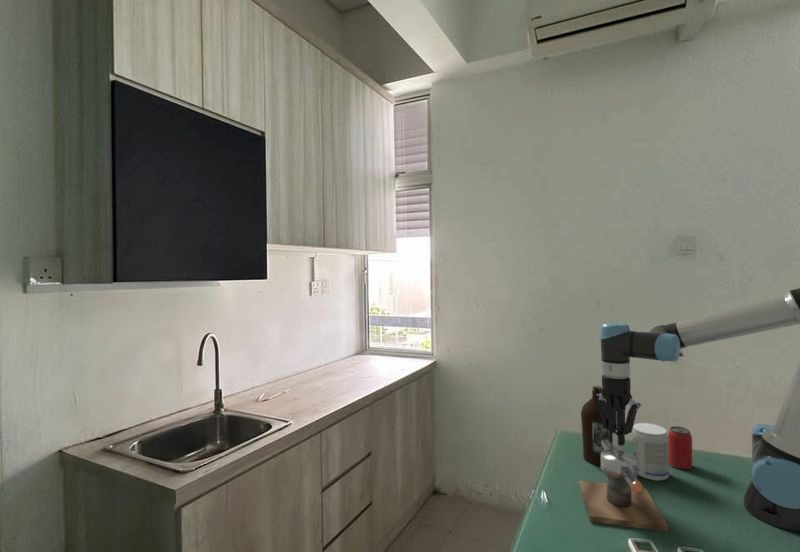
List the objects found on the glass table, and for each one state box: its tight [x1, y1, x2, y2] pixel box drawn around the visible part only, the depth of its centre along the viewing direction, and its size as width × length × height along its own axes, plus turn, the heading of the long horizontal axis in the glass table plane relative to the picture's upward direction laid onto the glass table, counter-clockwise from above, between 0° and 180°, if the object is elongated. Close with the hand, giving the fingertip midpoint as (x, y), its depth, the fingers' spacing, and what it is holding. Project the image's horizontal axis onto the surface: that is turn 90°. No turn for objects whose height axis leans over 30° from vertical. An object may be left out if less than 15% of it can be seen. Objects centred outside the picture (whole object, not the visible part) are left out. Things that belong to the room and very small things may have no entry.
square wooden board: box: [578, 474, 669, 532], centre depth 115 cm, size 18×18×10 cm
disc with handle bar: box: [600, 439, 644, 494], centre depth 113 cm, size 27×9×4 cm, turn 170°
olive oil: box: [580, 385, 613, 466], centre depth 141 cm, size 11×11×25 cm
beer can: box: [667, 425, 693, 470], centre depth 136 cm, size 7×7×12 cm
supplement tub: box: [632, 422, 670, 481], centre depth 131 cm, size 10×10×15 cm
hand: (617, 454), depth 122 cm, fingers closed
